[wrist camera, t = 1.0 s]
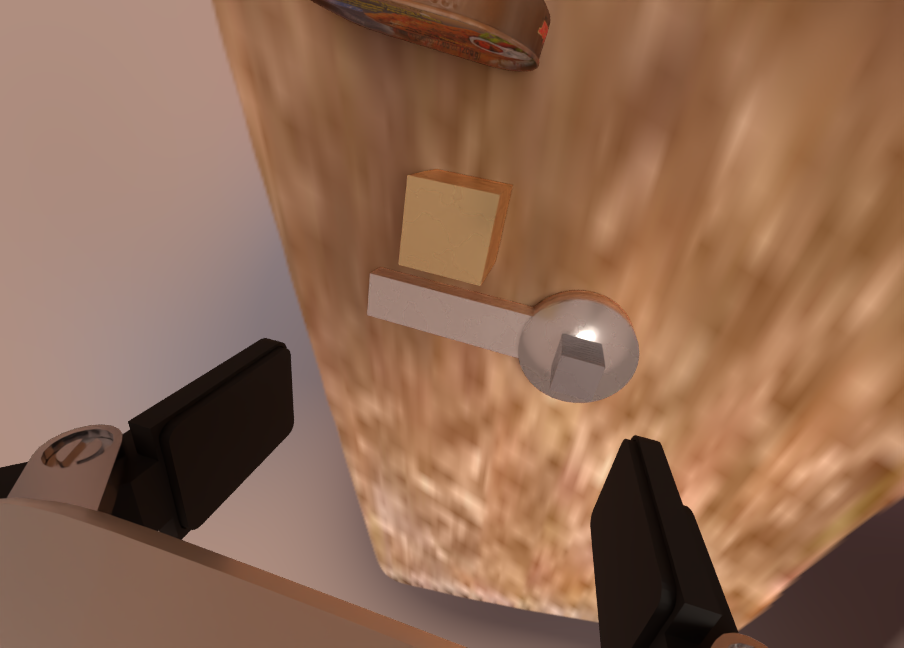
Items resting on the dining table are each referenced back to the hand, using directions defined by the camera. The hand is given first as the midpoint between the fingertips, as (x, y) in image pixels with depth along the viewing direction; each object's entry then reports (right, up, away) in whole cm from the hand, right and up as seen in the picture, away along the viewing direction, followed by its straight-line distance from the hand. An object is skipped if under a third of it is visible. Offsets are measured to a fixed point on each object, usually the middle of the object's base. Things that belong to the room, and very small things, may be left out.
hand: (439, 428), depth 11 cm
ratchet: (+4, +3, +23) cm, 24 cm away
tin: (0, +23, +15) cm, 27 cm away
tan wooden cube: (+1, +11, +20) cm, 23 cm away
